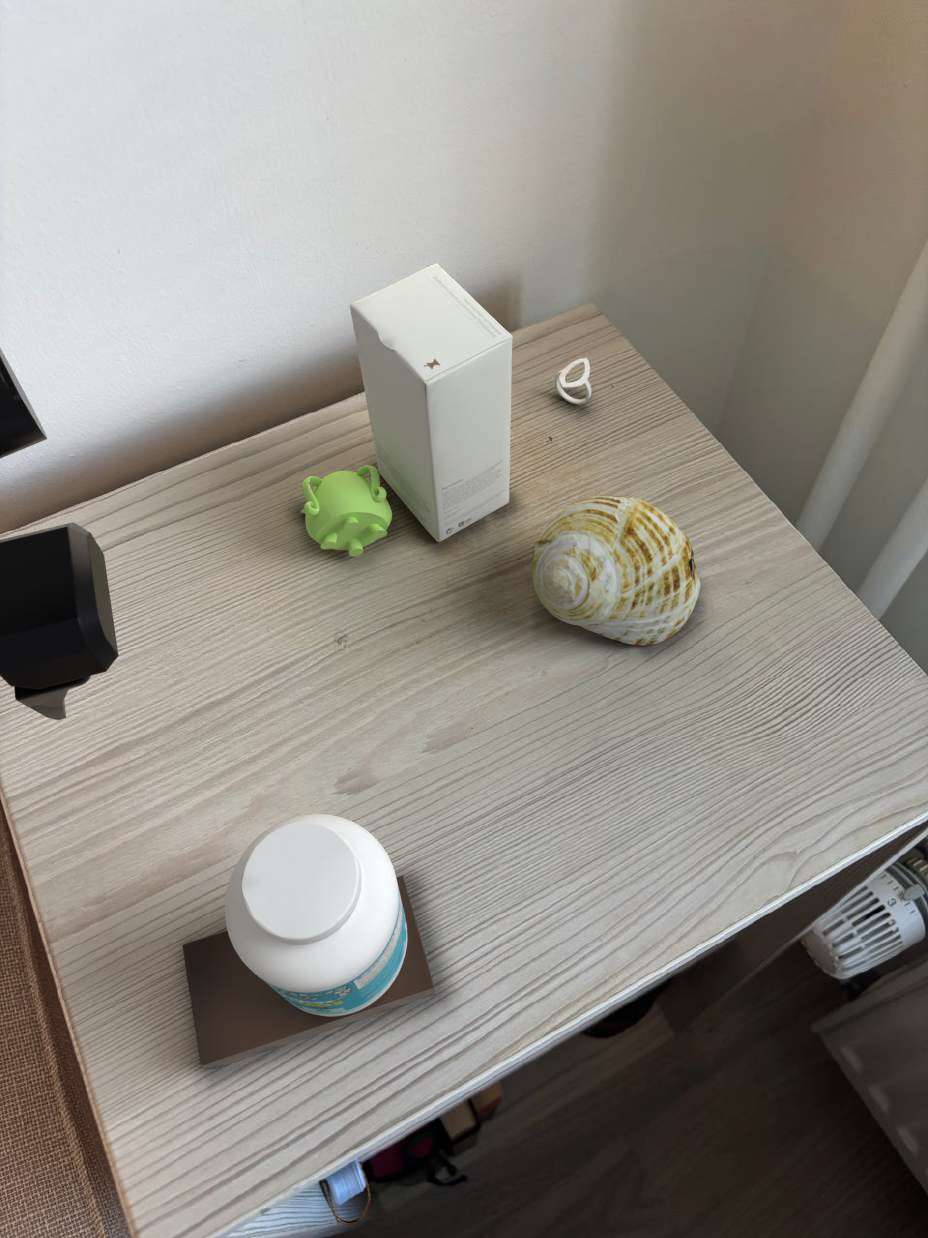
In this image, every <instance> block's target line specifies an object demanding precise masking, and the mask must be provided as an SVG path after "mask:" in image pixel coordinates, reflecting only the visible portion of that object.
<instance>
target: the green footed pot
mask: <svg viewBox="0 0 928 1238" xmlns="http://www.w3.org/2000/svg"><path fill="white" fill-rule="evenodd" d="M369 472H370V473H369ZM368 473H369V474H370V479H369V478H367V477H366V476H367V474H368ZM380 478H381V477H380V473H379V471H378V468H377V467H375V466H373V465H369V464H366V465H362V466H360V467H359V469H358V470H357V471H351V470H336V471H333V472H330V473H328V474H327V475H325V476H324V477H323V478H321V477H318V476H315V475H311V476H308V477H305V479H304V480H303V481H302V483H301V490H302V493H303V495H304V498H305V500H306V502H305V504H304V506H303V509H302V510H300V513H301V514H304V515H305V516H304V517H305V519H304V520H305V528H306V529H305V530H306V532H307V534H308V536H310V538H311V539H313V540H314V541H315V542H316V543H318V544H319V545H320V549H322V550H334V551H335V550H336V551H348V555H349V556H350V557H358V556H361V555H363V553H364V552H365V551H364V547H366V546H369V545H371V544H372V543H374V542H375V541H377V540H379V539H382V538H384V537H386V536H388V531H387V530H388V529H389V526H390V524H391V522H392V519H393V512H392V508H391V505H390V504H389V501H388V500H387V498H386V497H387V491H386V489H385V488H384V487H382V486H380V485H381V484H380V483H381V481H380ZM311 485H313V486H314V487H313V488H311Z"/></svg>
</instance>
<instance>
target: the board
mask: <svg viewBox="0 0 928 1238" xmlns="http://www.w3.org/2000/svg"><path fill="white" fill-rule="evenodd" d="M396 879H397V883H398V887H399V892H400V896H401V901H402V905H403V909H404V913H405V919H406V925H407V948H406V954H405V958H404V961H403V964H402V966H401V969H400V971H399V973H398V975H397V977H396V979H395V980H394V982H393V983H392V984H391V986H390V987H389V988H388V990H387V991H386V992H385V993H384V994H383V995H382V996H381V997H380V998H378V999H377V1000H376V1001H375V1002H373V1003H372V1004H370V1005H369V1006H367V1007H365V1008H363V1009H361V1010H359V1011H357V1012H354V1013H351V1014H347V1015H341V1016H320V1015H315V1014H311V1013H308V1012H305V1011H303V1010H301V1009H299V1008H298V1007H296V1006H294V1005H293V1004H291V1003H290V1002H289V1001H287V1000H286V999H285V998H284V997H282V996H281V995H280V994H279V993H278V992H276V991H275V990H274V989H273V988H272V987H270V986H269V985H268V984H267V983H266V982H264V981H263V980H262V979H261V978H260V977H258V976H257V975H256V974H255V973H254V972H252V971H251V970H250V969H249V968H248V967H247V966H246V965H245V964H244V962H243V961H242V960H241V958H240V957H239V955H238V954H237V952H236V950H235V949H234V947H233V945H232V942H231V940H230V937H229V934H228V930H227V929H226V930H224V931H221V932H218V933H215V934H212V935H208V936H204V937H202V938H199V939H196V940H193V941H189V942H186V943H183V944H182V946H181V947H182V954H183V960H184V967H185V973H186V978H187V979H186V980H187V985H188V993H189V999H190V1004H191V1012H192V1018H193V1023H194V1030H195V1037H196V1042H197V1049H198V1056H199V1061H200V1066H202V1067H205V1068H208V1069H212V1070H215V1069H218V1068H221V1067H224V1066H227V1065H231V1064H234V1063H236V1062H239V1061H243V1060H246V1059H249V1058H251V1057H254V1056H257V1055H260V1054H263V1053H267V1052H270V1051H272V1050H275V1049H278V1048H280V1047H284V1046H287V1045H290V1044H292V1043H293V1044H294V1043H295V1042H298V1041H301V1040H304V1039H307V1038H311V1037H314V1036H316V1035H319V1034H323V1033H325V1032H328V1031H331V1030H335V1029H337V1028H340V1027H343V1026H346V1025H349V1024H352V1023H355V1022H359V1021H361V1020H364V1019H367V1018H370V1017H373V1016H376V1015H379V1014H382V1013H385V1012H387V1011H390V1010H394V1009H397V1008H399V1007H403V1006H405V1005H408V1004H411V1003H414V1002H418V1001H420V1000H423V999H426V998H429V997H432V996H435V995H436V994H437V993H436V987H435V983H434V980H433V976H432V972H431V968H430V965H429V962H428V958H427V954H426V951H425V947H424V944H423V942H422V936H421V934H420V929H419V926H418V923H417V920H416V919H417V918H416V915H415V912H414V909H413V905H412V902H411V901H412V900H411V898H410V895H409V891H408V887H407V884H406V881H405V877H404V875H403V874H402V875H399V876H396Z"/></svg>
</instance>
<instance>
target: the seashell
mask: <svg viewBox="0 0 928 1238" xmlns="http://www.w3.org/2000/svg"><path fill="white" fill-rule="evenodd" d="M694 553H695V552H694V551H693V547H692V543H691V541H690V539H689V537H688V536H687V534H686V533H685V532H683V531H682V530H680V529H679V527H678V525H677V523H675V521H673V519H672V518H670V517H669V516H668V515H667V514H666V512H663V511H662V510H661V509H659V508H658V507H656V506H654V505H653V504H651V503H650V502H647V501H645V500H644V499H641V498H639V497H624V496H618V495H597V496H593V497H587V498H583V499H581V500H577V501H575V502H572V503H571V504H569V505H567V506H566V507H565V508H564V509H563V510H562V511H560V512H559V513H558V514H557V515H556V516H555V517H554V518H552V519H551V520H550V521H549V522H548V524H547V525H546V526H545V527H544V528H543V530H542V532H541V533H540V535H538V538H537V540H536V542H535V545H534V553H533V555H532V560H531V579H532V580H531V581H532V583H533V587H534V591H535V593H536V595H537V598H538V599H539V602H540V603H541V604H542V605H543V607H544V608H545V609H546V610H547V611H548V613H550V615H551V616H553V617H554V618H556V619H558V620H559V621H561V622H563V623H565V624H570V625H573V626H580V627H582V629H584V630H587V631H589V632H593V633H595V634H598V635H599V636H602V637H605V638H608V639H610V640H613V641H618V642H619V643H624V644H627V645H633V646H653V645H656V644H660V643H663V642H665V641H666V640H669V639H671V638H672V637H673V636H675V635H676V633H678V632H679V631H680V630H681V629H682V628H683V626H685V624H686V623H687V622H688V620H689V618H690V617H691V614H692V613H693V611H694V609H695V607H696V604H697V601H698V598H699V595H700V593H701V581H700V577H699V571H698V566H697V564H696V563H697V562H696V560H695V554H694Z"/></svg>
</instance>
